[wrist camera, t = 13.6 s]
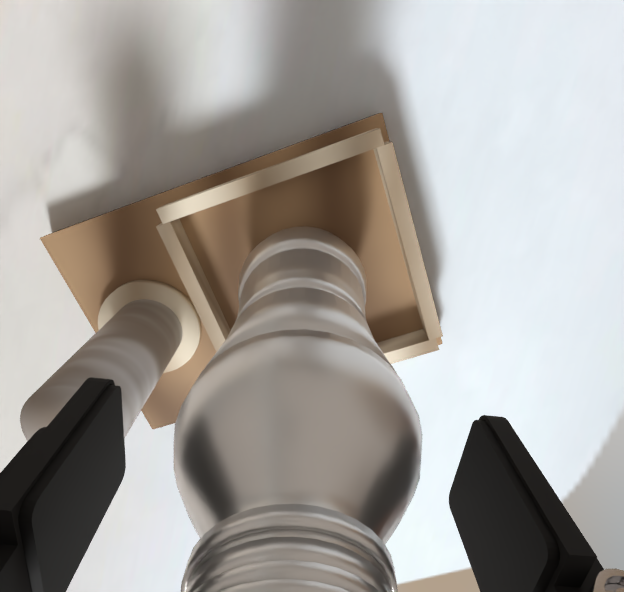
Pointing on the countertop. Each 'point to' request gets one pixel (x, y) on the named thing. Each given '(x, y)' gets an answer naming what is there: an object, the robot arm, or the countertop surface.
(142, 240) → the board
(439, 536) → the countertop surface
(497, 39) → the countertop surface
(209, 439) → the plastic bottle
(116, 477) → the robot arm
